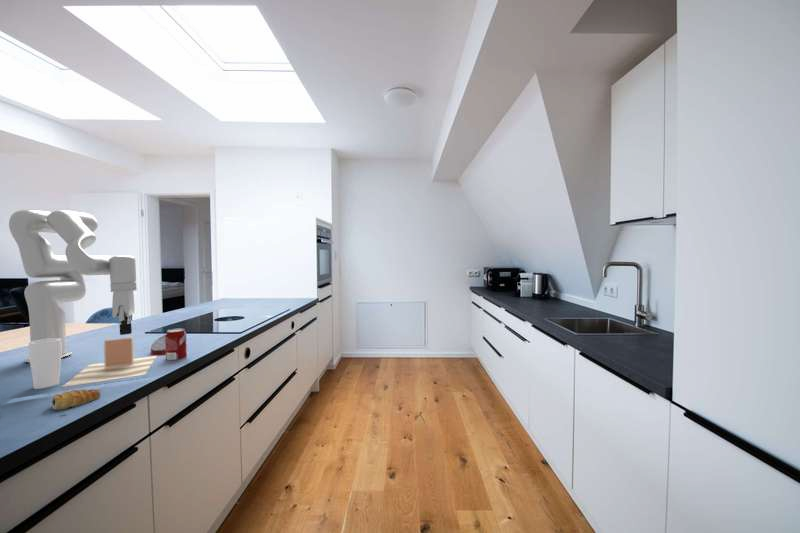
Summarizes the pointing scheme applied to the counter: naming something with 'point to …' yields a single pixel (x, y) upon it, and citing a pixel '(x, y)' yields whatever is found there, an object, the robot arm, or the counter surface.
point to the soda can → (175, 344)
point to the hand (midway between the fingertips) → (125, 333)
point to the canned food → (158, 346)
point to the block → (118, 351)
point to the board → (111, 372)
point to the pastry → (74, 398)
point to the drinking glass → (45, 362)
